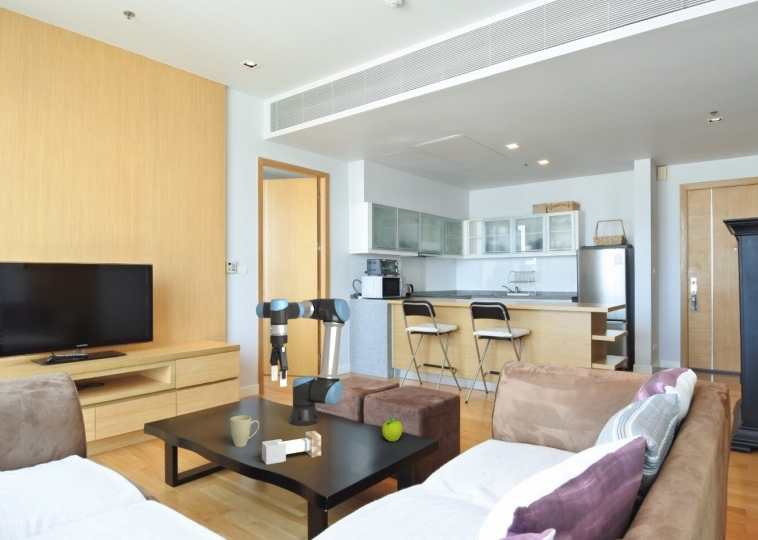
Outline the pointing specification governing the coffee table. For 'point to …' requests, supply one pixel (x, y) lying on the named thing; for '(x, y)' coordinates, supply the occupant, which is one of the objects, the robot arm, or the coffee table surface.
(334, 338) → the robot arm
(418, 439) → the coffee table surface
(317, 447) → the beige block
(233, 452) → the coffee table surface
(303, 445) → the blue-banded white bar
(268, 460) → the sleeve
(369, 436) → the coffee table surface
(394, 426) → the fruit
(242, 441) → the mug
